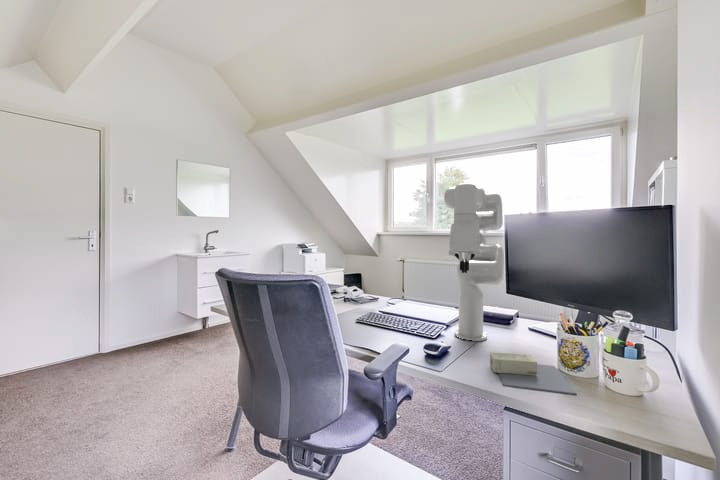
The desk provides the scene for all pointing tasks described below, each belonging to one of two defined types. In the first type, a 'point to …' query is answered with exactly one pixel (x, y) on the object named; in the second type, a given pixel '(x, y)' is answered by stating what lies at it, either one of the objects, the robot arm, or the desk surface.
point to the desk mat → (539, 380)
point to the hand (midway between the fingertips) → (464, 272)
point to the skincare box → (513, 363)
